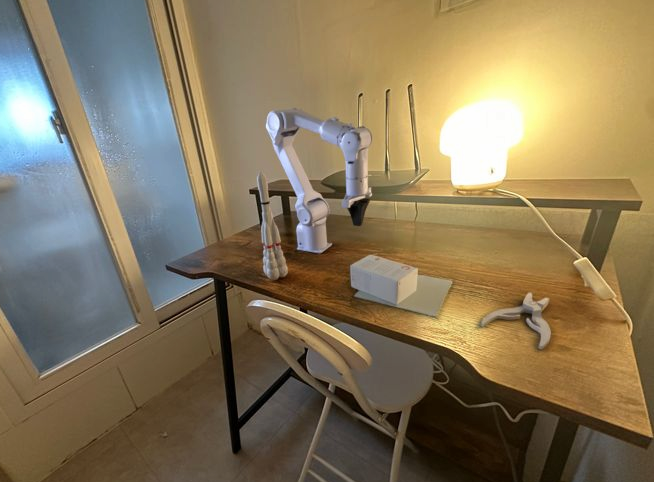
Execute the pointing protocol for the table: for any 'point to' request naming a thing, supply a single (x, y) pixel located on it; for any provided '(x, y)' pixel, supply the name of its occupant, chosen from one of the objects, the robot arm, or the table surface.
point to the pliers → (537, 318)
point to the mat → (419, 296)
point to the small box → (384, 278)
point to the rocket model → (270, 236)
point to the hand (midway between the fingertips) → (357, 225)
